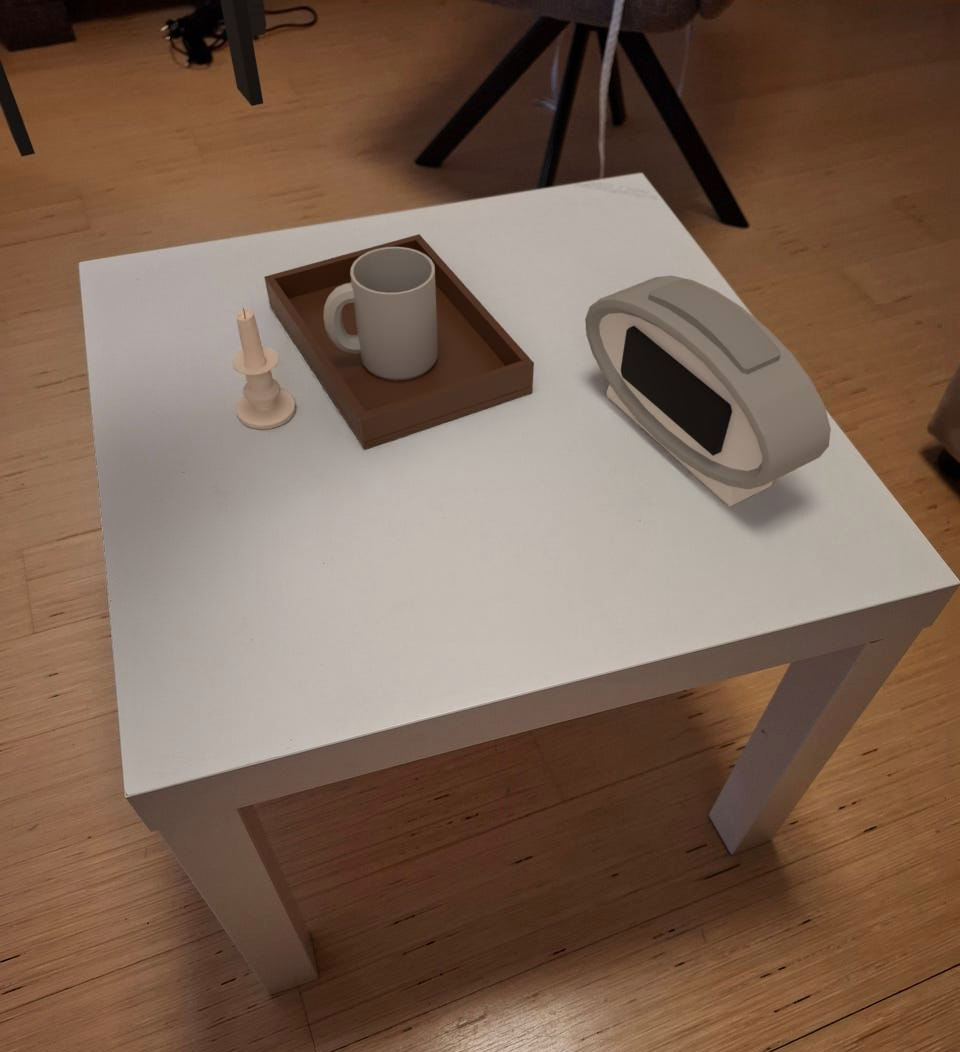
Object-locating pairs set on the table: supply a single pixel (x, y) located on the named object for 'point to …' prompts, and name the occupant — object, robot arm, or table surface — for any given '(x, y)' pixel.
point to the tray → (415, 404)
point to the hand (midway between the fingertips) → (140, 120)
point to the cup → (388, 313)
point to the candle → (259, 380)
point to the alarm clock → (708, 384)
